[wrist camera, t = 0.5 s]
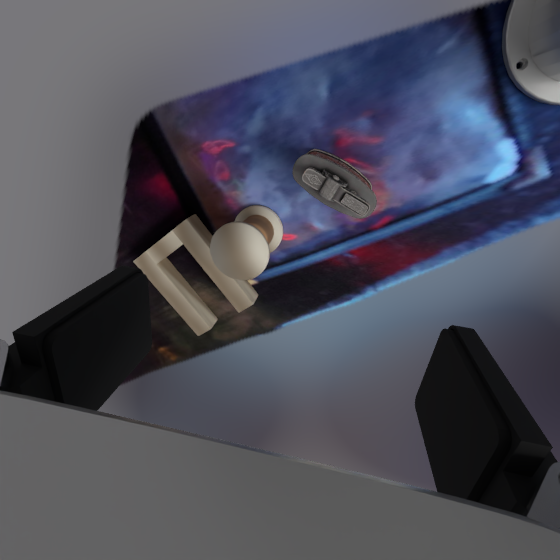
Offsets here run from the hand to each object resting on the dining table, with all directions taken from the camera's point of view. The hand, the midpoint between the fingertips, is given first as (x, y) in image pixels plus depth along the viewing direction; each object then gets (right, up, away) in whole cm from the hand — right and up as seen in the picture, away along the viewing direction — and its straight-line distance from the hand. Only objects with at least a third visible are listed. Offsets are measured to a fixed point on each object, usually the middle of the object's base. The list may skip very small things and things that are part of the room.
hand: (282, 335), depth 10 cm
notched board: (-11, +3, +33) cm, 35 cm away
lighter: (+6, +13, +25) cm, 29 cm away
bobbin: (-3, +8, +29) cm, 30 cm away
